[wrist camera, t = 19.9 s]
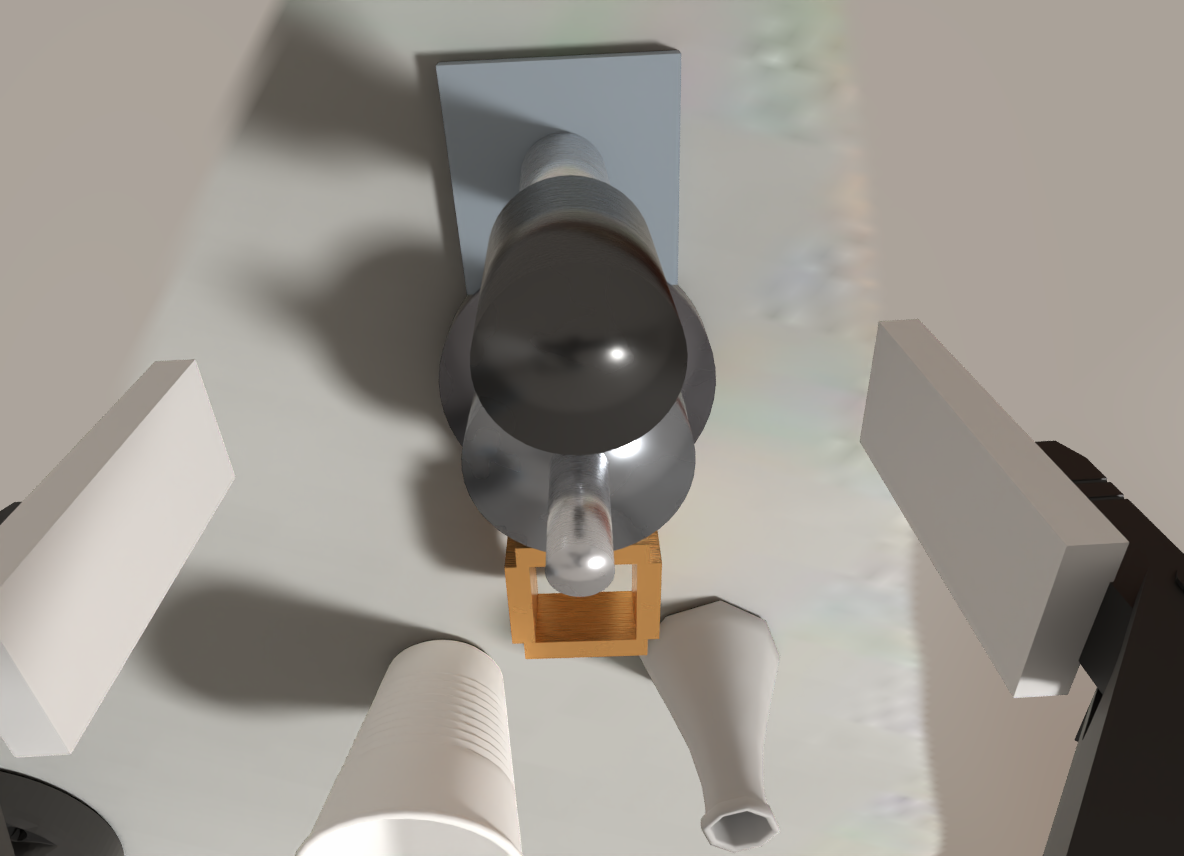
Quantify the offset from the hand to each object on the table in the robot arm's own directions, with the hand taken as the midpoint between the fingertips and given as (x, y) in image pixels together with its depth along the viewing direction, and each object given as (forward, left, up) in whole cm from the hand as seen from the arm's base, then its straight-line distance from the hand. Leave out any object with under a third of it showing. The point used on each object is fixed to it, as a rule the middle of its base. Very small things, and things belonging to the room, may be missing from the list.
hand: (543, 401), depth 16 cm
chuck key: (0, 0, -15) cm, 15 cm away
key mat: (0, 0, -16) cm, 16 cm away
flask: (+6, -25, -16) cm, 30 cm away
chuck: (0, -12, -14) cm, 18 cm away
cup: (-8, -26, -16) cm, 31 cm away
